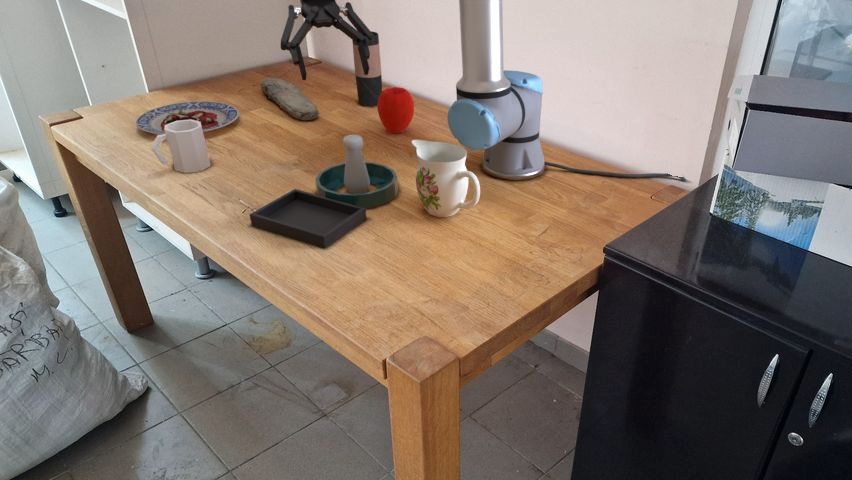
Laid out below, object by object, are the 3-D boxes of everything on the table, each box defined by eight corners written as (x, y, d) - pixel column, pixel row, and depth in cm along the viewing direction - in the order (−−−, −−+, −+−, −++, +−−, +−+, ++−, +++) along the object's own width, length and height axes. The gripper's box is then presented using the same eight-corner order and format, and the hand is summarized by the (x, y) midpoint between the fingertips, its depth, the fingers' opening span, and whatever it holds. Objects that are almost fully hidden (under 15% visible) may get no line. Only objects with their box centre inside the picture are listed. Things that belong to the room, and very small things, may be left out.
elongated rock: (293, 129, 181) (327, 124, 186) (292, 110, 178) (326, 106, 183) (253, 87, 204) (285, 85, 209) (251, 71, 201) (283, 68, 206)
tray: (366, 219, 136) (365, 208, 135) (325, 248, 126) (323, 236, 125) (296, 199, 143) (294, 188, 141) (251, 225, 133) (249, 214, 131)
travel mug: (378, 108, 194) (373, 38, 183) (353, 105, 195) (347, 36, 184) (387, 100, 200) (382, 32, 189) (363, 97, 201) (357, 30, 190)
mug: (202, 155, 161) (193, 117, 155) (217, 166, 156) (208, 127, 150) (152, 168, 154) (140, 128, 148) (165, 180, 149) (154, 139, 143)
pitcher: (461, 234, 132) (461, 171, 125) (398, 207, 141) (394, 147, 134) (494, 214, 140) (496, 154, 132) (432, 190, 149) (430, 132, 141)
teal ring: (412, 185, 151) (411, 171, 149) (367, 216, 137) (365, 201, 135) (349, 169, 157) (348, 156, 155) (301, 198, 143) (298, 183, 141)
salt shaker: (349, 199, 144) (342, 143, 137) (341, 188, 148) (335, 134, 141) (374, 194, 146) (369, 139, 139) (366, 184, 150) (361, 130, 143)
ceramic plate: (252, 130, 175) (250, 120, 174) (148, 149, 163) (145, 137, 161) (226, 103, 193) (224, 93, 191) (130, 118, 181) (127, 107, 179)
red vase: (405, 140, 173) (403, 95, 166) (372, 135, 176) (368, 90, 169) (421, 128, 181) (419, 84, 174) (389, 123, 184) (386, 79, 177)
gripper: (367, -5, 153) (389, 78, 150) (256, 0, 144) (277, 88, 141) (371, -26, 146) (394, 60, 143) (255, -22, 137) (277, 70, 134)
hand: (336, 74), depth 142 cm, fingers open, 13 cm apart
